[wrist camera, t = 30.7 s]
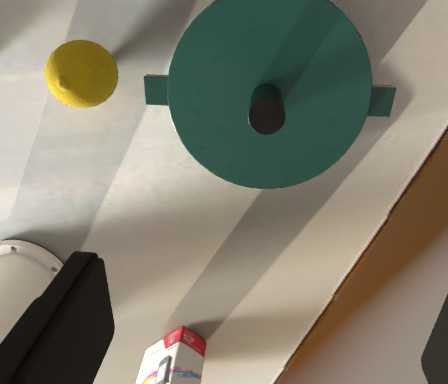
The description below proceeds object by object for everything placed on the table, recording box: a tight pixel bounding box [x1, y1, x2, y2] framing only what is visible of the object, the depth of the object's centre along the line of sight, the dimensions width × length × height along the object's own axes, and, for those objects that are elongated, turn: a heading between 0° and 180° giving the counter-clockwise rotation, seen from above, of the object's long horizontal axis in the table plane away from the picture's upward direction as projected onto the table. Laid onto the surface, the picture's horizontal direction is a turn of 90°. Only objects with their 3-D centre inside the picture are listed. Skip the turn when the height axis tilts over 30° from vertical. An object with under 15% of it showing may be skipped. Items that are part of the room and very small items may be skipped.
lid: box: [167, 0, 372, 189], centre depth 28 cm, size 16×16×6 cm
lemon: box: [45, 40, 118, 108], centre depth 32 cm, size 6×6×8 cm
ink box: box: [136, 326, 206, 384], centre depth 49 cm, size 9×5×12 cm, turn 134°
